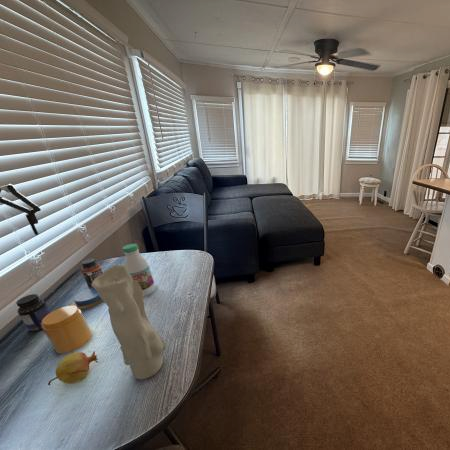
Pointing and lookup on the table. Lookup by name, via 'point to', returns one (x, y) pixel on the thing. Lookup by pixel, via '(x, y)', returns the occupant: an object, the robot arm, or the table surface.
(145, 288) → the milk bottle
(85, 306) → the coaster
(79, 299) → the lid
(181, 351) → the table surface
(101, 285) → the vase
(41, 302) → the pill bottle
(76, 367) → the fruit
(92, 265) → the supplement bottle
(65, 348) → the jar
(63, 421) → the table surface
